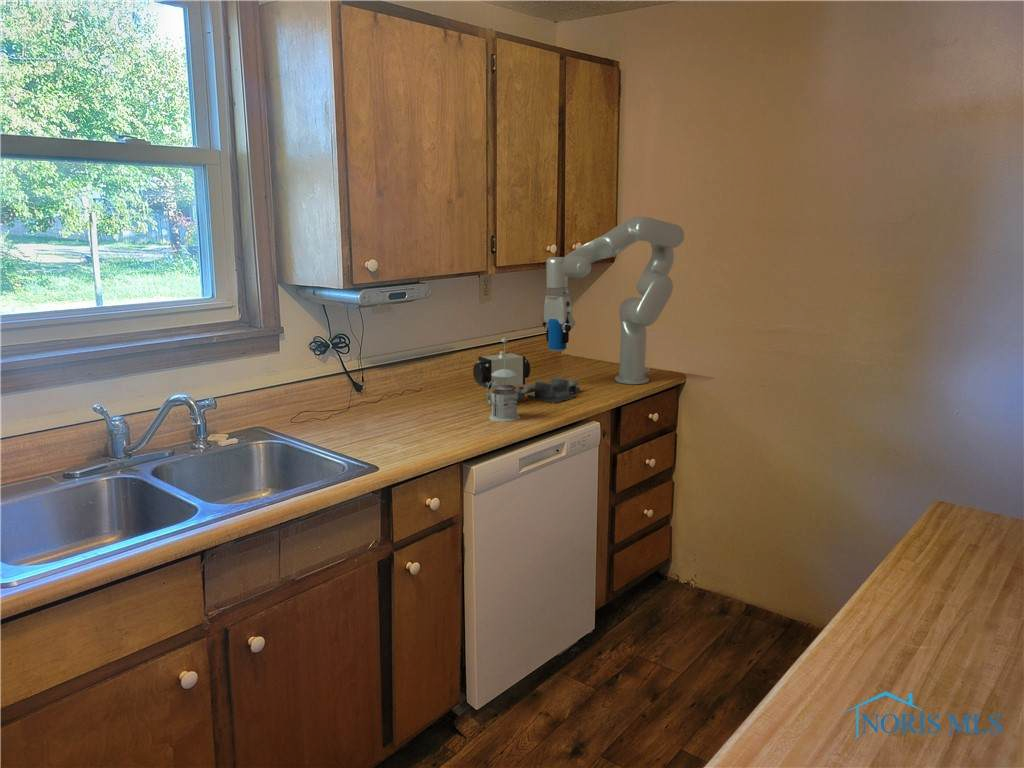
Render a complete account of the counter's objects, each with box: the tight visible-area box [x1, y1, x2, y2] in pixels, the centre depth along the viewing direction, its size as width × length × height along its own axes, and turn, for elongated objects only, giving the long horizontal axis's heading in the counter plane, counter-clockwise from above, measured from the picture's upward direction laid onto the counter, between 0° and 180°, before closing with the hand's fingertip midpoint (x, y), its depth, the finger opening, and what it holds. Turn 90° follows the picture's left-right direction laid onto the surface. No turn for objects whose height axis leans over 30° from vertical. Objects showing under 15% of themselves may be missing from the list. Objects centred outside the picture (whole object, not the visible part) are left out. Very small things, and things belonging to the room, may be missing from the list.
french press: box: [486, 337, 521, 423], centre depth 233 cm, size 10×12×25 cm
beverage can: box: [547, 318, 567, 352], centre depth 274 cm, size 6×6×12 cm
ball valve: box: [472, 350, 531, 405], centre depth 251 cm, size 18×8×18 cm, turn 120°
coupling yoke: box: [515, 376, 581, 404], centre depth 262 cm, size 24×15×6 cm, turn 137°
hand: (557, 341), depth 275 cm, fingers closed on beverage can, 6 cm apart
